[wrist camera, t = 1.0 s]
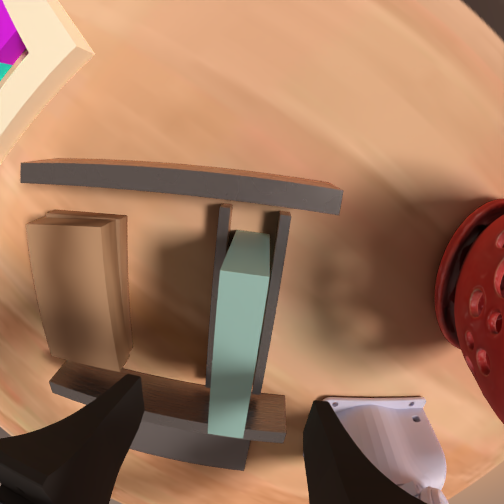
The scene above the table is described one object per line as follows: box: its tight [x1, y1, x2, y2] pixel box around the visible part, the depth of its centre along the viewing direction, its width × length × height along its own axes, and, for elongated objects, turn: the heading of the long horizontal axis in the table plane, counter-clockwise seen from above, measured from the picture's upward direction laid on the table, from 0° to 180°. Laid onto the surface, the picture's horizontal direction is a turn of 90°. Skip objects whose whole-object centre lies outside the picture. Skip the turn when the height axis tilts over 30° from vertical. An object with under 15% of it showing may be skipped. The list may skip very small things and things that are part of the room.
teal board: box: [208, 230, 270, 438], centre depth 18 cm, size 2×10×7 cm, turn 173°
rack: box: [21, 158, 343, 443], centre depth 19 cm, size 18×17×4 cm
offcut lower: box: [46, 210, 133, 352], centre depth 21 cm, size 6×10×2 cm, turn 174°
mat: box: [129, 421, 250, 471], centre depth 25 cm, size 14×8×1 cm, turn 83°
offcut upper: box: [26, 217, 130, 372], centre depth 19 cm, size 6×10×2 cm, turn 177°
